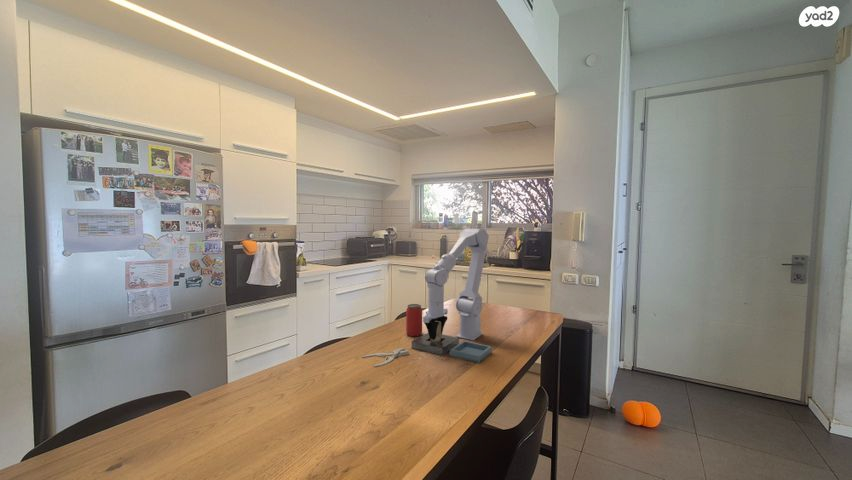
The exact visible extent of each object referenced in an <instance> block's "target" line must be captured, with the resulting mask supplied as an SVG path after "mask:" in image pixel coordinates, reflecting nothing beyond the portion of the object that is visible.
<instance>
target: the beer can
mask: <svg viewBox="0 0 852 480" xmlns="http://www.w3.org/2000/svg"><path fill="white" fill-rule="evenodd" d="M405 314H406V316H405V317H406V318H405V319H406V320H405V321H406V322H405V323H406V324H405V331H406V332H405V334H406V335H407V336H411V337H420V336H422V334H423V308H422V305H421V304H418V303H411V304H408V305H407V307H406V311H405Z"/></svg>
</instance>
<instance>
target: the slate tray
mask: <svg viewBox="0 0 852 480" xmlns="http://www.w3.org/2000/svg"><path fill="white" fill-rule="evenodd" d="M492 350H493V347H492V346H491V345H487V344H483V343H482V344H481V343H477V342H473V341H472V342H471V341H468V340H463V341H461V342H459V344H458V345H457V346H455V347H453V348H452V349H450V351H449V356H450V357H453V358H457V359H461V360H465V361H469V362H473V363H479V364H480V363H481V362H483V361H484V360H485V359H486V358H488V356H489V355H491V354H492Z"/></svg>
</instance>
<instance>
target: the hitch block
mask: <svg viewBox="0 0 852 480" xmlns="http://www.w3.org/2000/svg"><path fill="white" fill-rule="evenodd" d="M458 344H460V338H459V337H456V336H452V335H447V334H443V333H442V336H441V342H439V343H435V342H431V341H430V337H429V333H428V332H427V333H425V334H423V335H420V336H418V338H417V337H416V339H414V340H411V349H414V350H418V351H422V352H426V353H430V354H435V355H438V356H443V355H445V354H447V353H448V352H450V349H452V348H453V347H455V346H457V345H458Z"/></svg>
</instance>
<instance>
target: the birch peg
mask: <svg viewBox="0 0 852 480" xmlns="http://www.w3.org/2000/svg"><path fill="white" fill-rule="evenodd" d="M437 322H439V324H438V327H437V332H436V339H435V340H433V339H430V341H431V342H435V343H439V342H441V322H440V321H437Z"/></svg>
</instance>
